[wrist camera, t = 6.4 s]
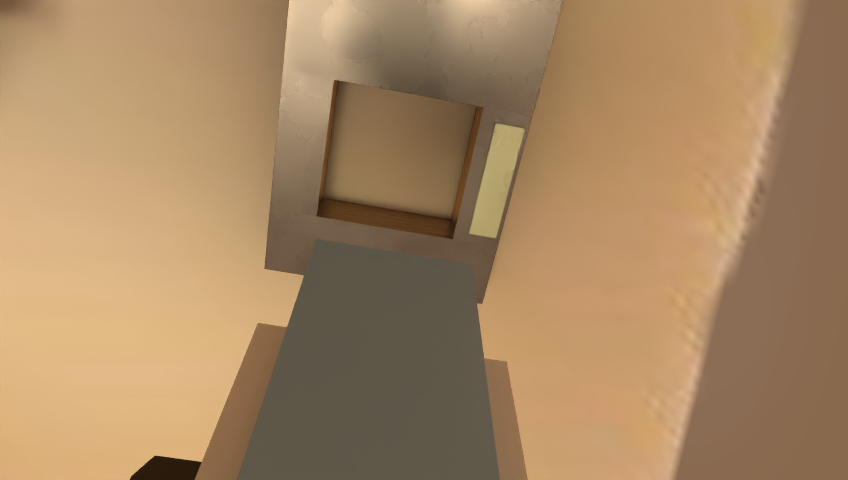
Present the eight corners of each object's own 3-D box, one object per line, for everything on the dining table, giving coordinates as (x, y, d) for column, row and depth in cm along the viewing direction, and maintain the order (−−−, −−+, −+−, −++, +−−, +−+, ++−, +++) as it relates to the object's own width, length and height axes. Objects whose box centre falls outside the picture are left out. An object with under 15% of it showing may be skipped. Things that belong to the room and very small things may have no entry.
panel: (338, -414, 21) (329, -446, 19) (640, -339, 22) (661, -363, 20) (273, 248, 32) (263, 270, 30) (479, 281, 33) (482, 306, 31)
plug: (316, 238, 17) (191, 613, 8) (471, 264, 17) (521, 651, 8) (297, 388, 19) (181, 818, 10) (435, 409, 19) (444, 844, 10)
